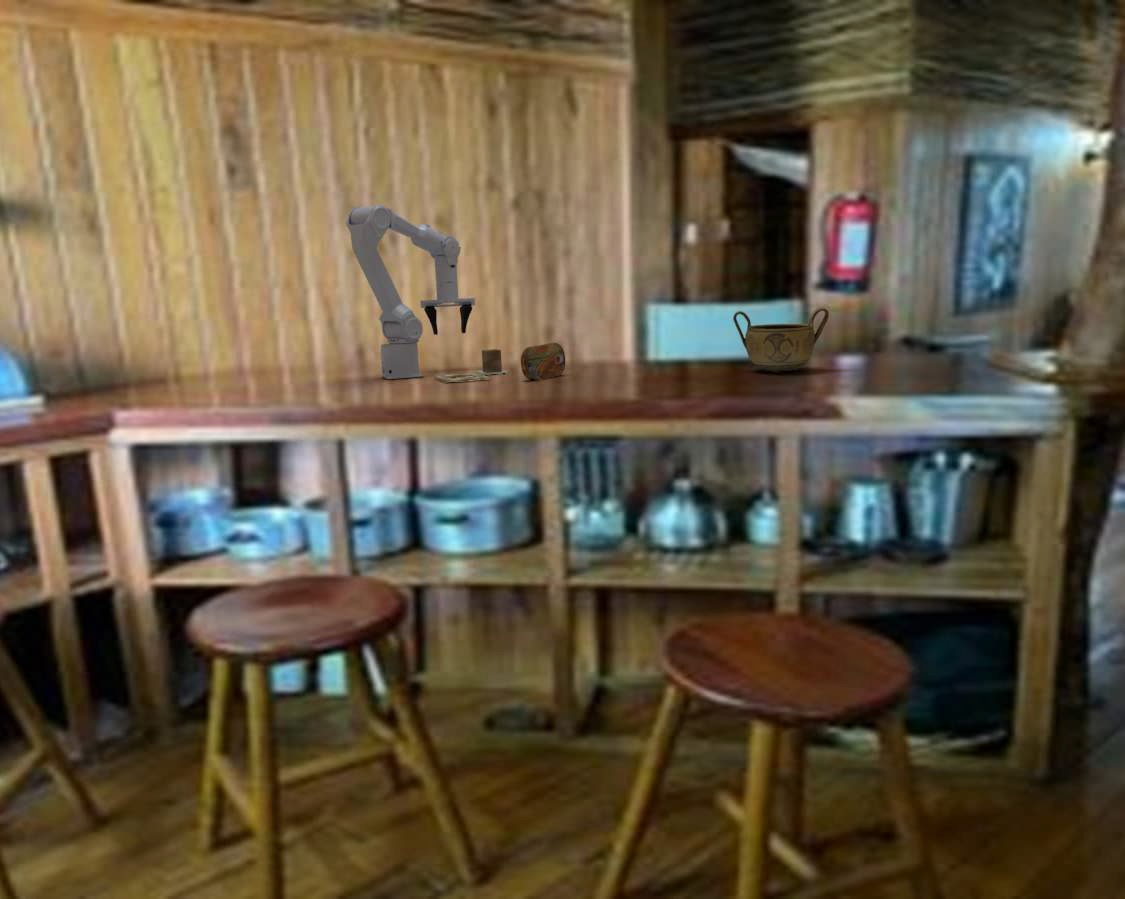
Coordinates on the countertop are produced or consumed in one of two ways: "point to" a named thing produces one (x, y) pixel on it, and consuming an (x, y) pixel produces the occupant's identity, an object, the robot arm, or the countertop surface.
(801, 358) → the ceramic bowl
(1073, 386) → the countertop surface
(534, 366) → the tin
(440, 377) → the pocket board
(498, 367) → the walnut block
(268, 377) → the countertop surface
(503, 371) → the ceramic pad
